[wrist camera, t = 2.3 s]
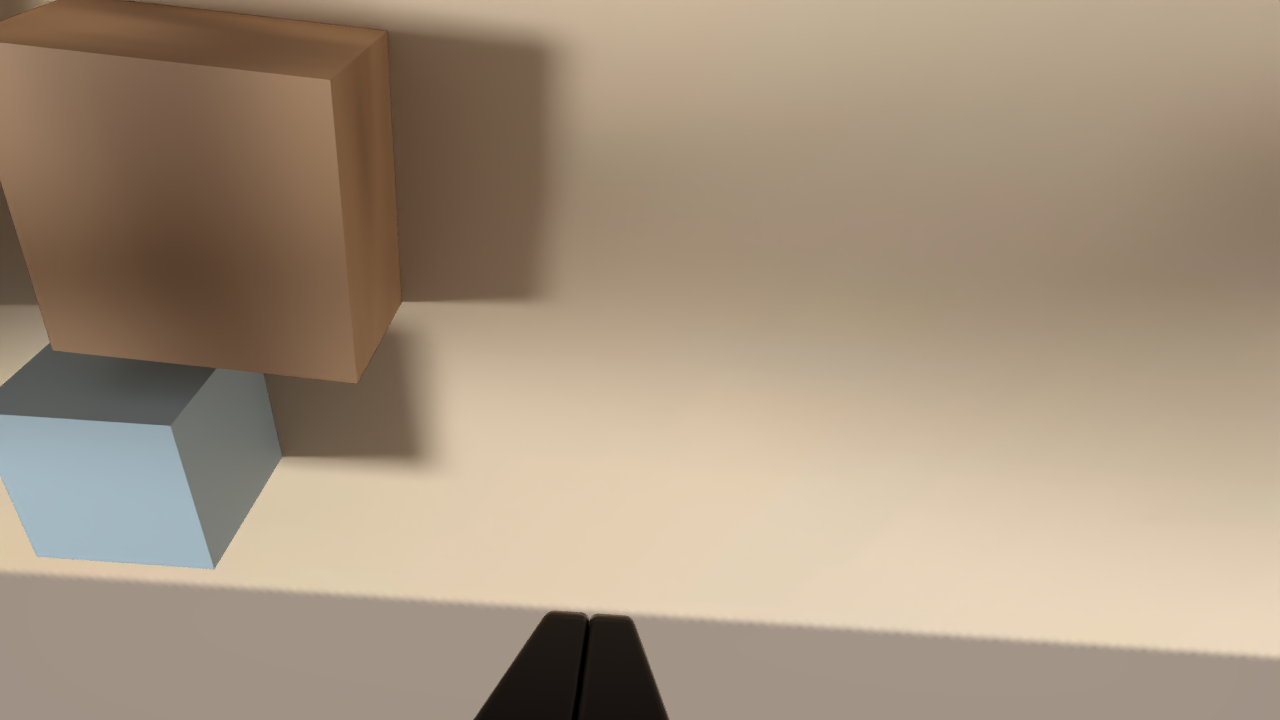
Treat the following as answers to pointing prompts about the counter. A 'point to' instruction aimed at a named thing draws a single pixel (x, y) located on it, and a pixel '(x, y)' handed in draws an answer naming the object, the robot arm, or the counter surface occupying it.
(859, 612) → the counter surface
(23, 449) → the block
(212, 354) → the brown square block
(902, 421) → the counter surface
